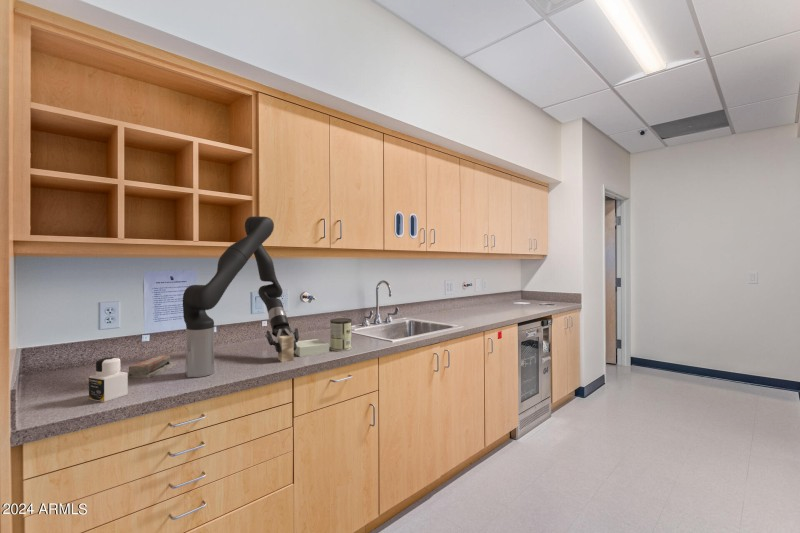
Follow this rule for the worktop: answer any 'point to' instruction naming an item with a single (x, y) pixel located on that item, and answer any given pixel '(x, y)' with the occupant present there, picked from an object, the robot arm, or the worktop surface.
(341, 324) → the coffee can
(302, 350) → the sage plinth
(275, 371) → the worktop surface
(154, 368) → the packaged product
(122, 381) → the medicine bottle
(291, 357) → the birch block
